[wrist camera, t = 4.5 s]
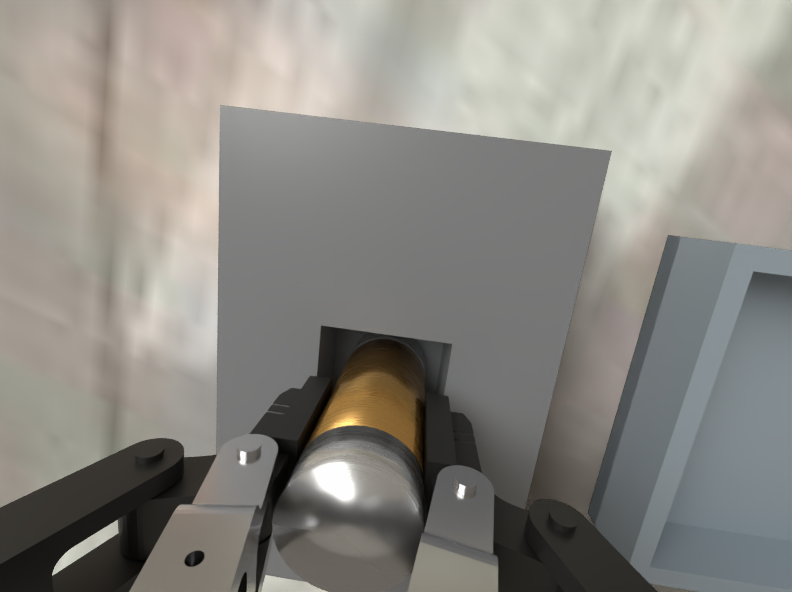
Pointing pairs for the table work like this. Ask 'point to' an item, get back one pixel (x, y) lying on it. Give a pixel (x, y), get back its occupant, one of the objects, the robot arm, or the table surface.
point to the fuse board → (400, 269)
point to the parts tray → (706, 425)
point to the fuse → (360, 475)
